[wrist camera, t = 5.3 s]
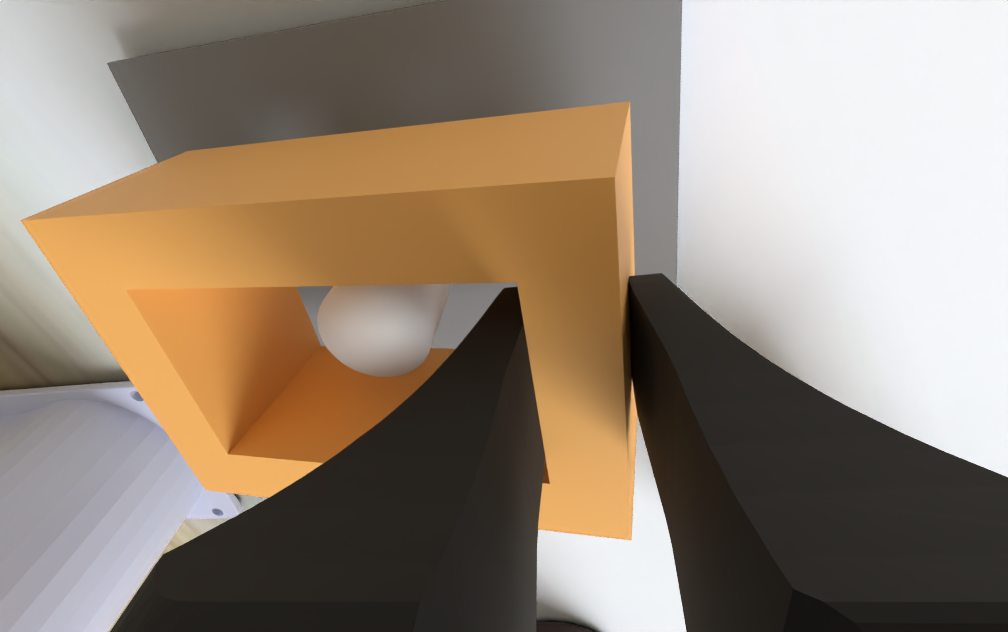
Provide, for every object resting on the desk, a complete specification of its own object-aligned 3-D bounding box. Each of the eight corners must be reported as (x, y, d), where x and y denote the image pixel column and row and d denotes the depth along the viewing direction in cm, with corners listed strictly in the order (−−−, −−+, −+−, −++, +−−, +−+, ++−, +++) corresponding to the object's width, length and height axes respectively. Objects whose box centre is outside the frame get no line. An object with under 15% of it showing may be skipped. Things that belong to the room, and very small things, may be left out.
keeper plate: (286, 375, 20) (195, 511, 15) (133, 57, 14) (-100, 104, 9) (669, 347, 18) (713, 495, 13) (674, -42, 12) (758, -53, 7)
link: (296, 382, 16) (205, 490, 13) (188, 151, 12) (20, 220, 9) (638, 396, 13) (631, 540, 10) (630, 101, 9) (615, 176, 6)
